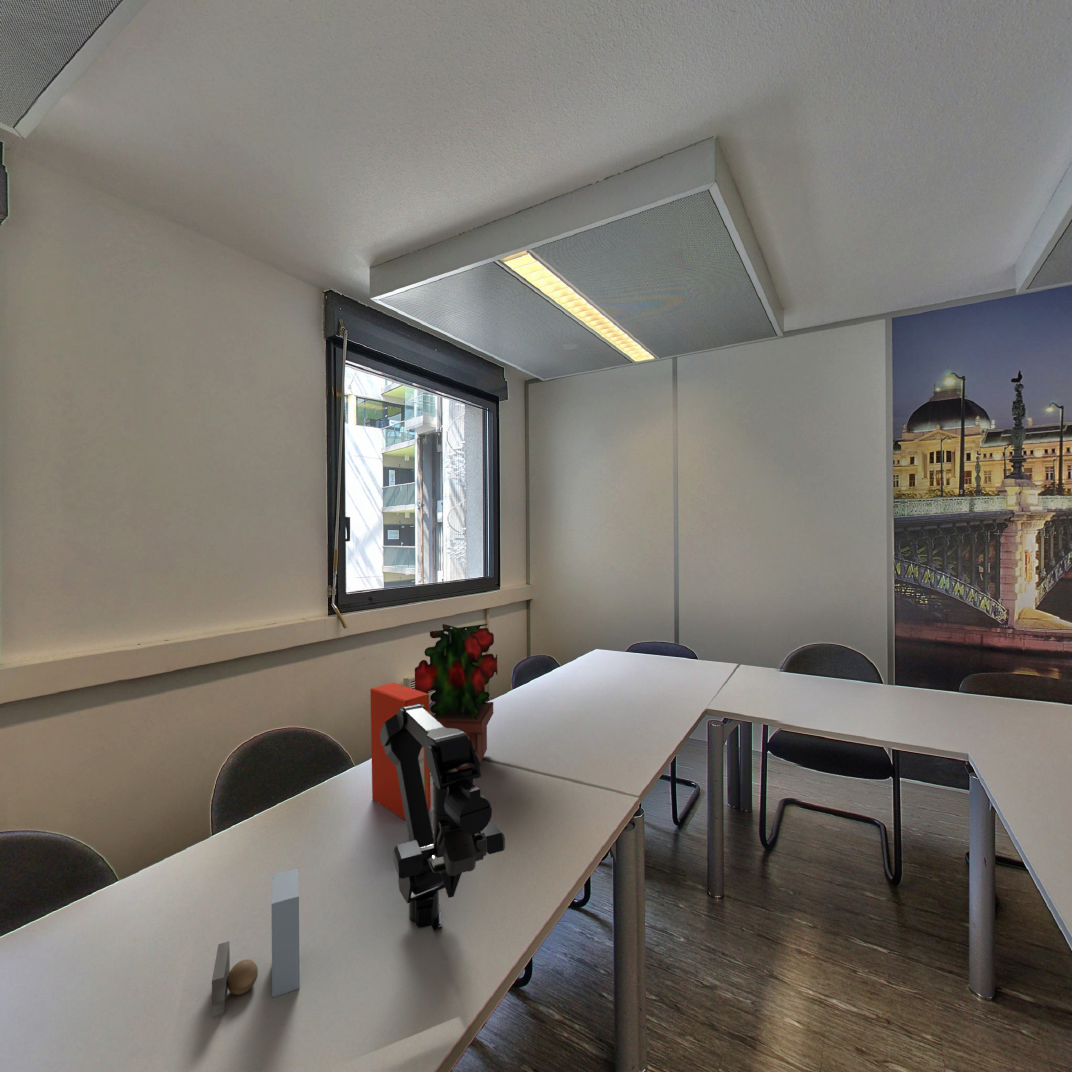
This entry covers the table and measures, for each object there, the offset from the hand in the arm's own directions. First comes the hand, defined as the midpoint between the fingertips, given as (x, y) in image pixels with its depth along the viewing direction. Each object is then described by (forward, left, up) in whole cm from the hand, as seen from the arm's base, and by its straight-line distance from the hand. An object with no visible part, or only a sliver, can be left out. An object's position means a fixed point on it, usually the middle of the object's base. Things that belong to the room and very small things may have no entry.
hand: (450, 896), depth 92 cm
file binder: (-59, -8, -12) cm, 61 cm away
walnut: (-3, -33, -11) cm, 35 cm away
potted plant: (-81, +11, -12) cm, 83 cm away
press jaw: (-4, -27, -10) cm, 29 cm away
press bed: (-4, -27, -12) cm, 30 cm away
